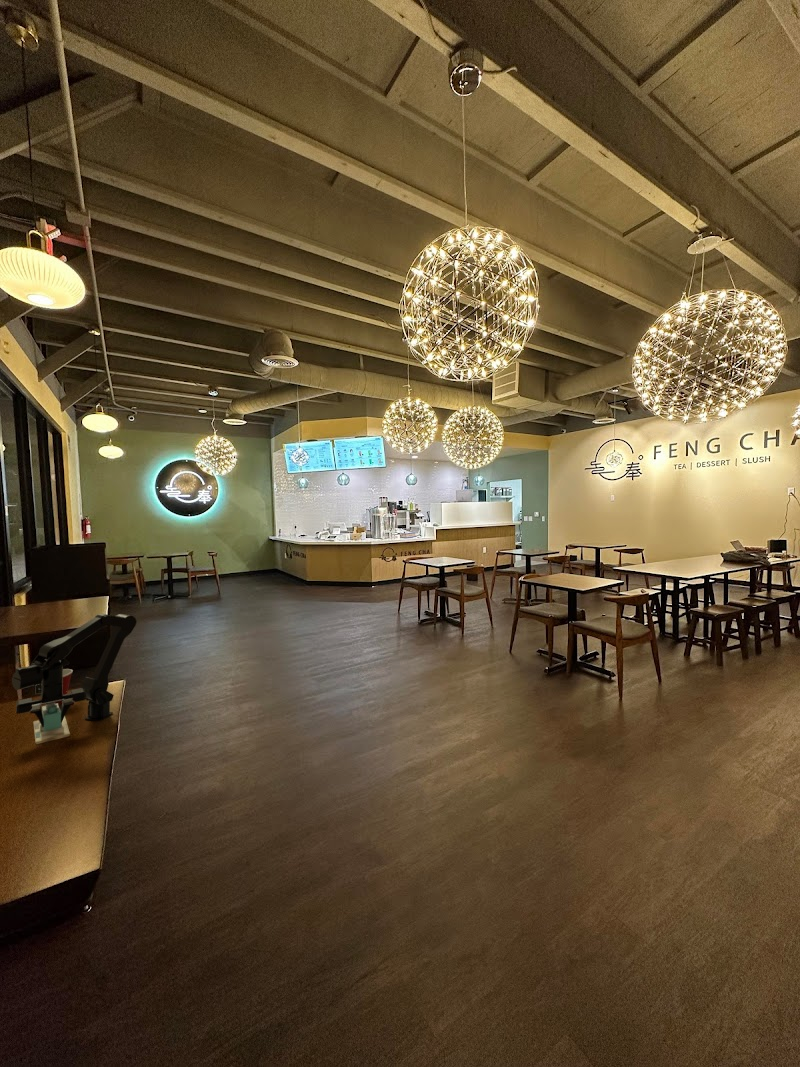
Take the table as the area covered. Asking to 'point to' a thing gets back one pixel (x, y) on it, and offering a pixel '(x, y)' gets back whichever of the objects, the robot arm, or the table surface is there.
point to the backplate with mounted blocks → (50, 732)
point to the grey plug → (44, 708)
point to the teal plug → (52, 718)
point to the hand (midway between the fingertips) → (52, 724)
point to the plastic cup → (65, 681)
